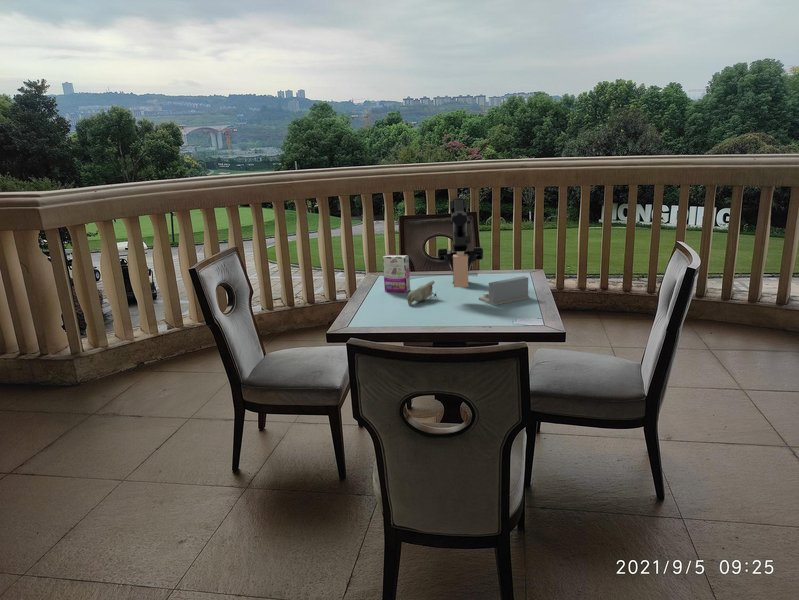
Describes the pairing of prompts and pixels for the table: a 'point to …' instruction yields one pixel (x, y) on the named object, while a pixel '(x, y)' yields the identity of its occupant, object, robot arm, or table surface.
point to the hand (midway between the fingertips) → (460, 271)
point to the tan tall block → (460, 269)
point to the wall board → (506, 291)
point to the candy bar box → (396, 273)
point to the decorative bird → (421, 293)
